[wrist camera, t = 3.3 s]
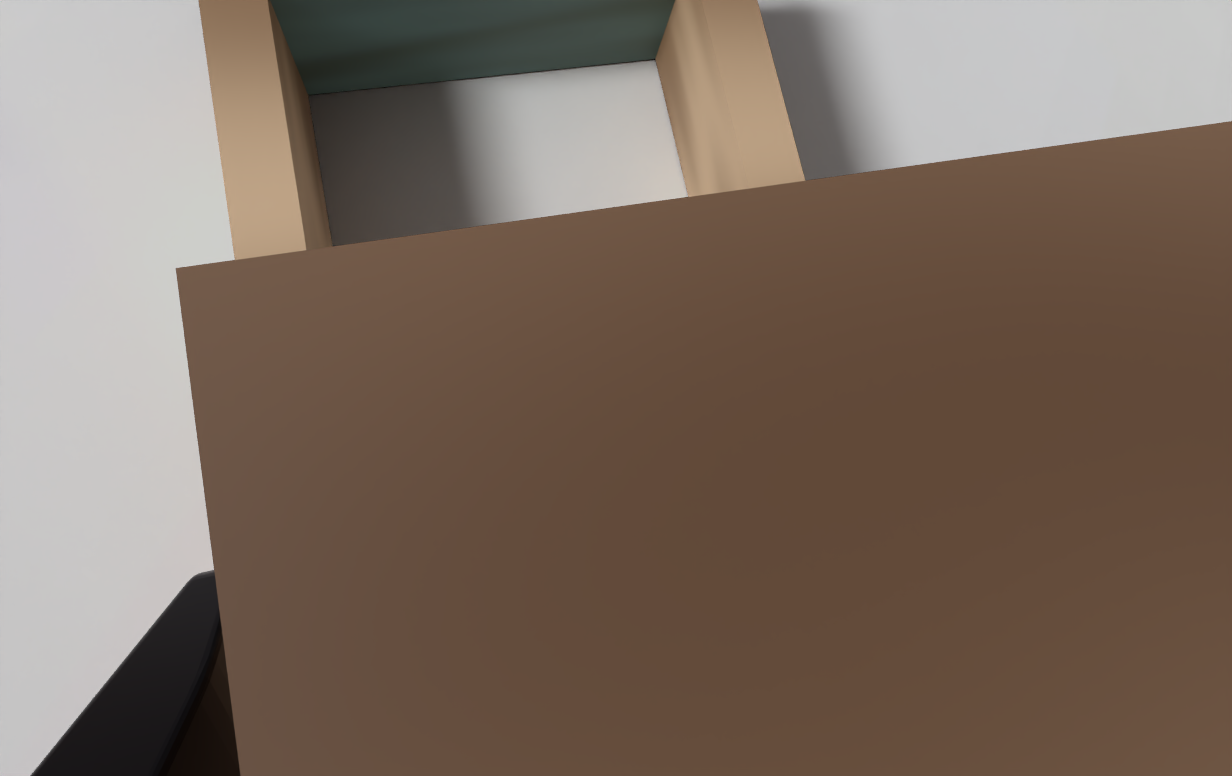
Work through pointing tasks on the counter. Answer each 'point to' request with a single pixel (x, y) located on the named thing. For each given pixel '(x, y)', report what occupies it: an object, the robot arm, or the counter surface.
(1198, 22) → the counter surface
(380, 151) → the counter surface
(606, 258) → the tall brown box
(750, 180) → the wooden u-shaped frame
